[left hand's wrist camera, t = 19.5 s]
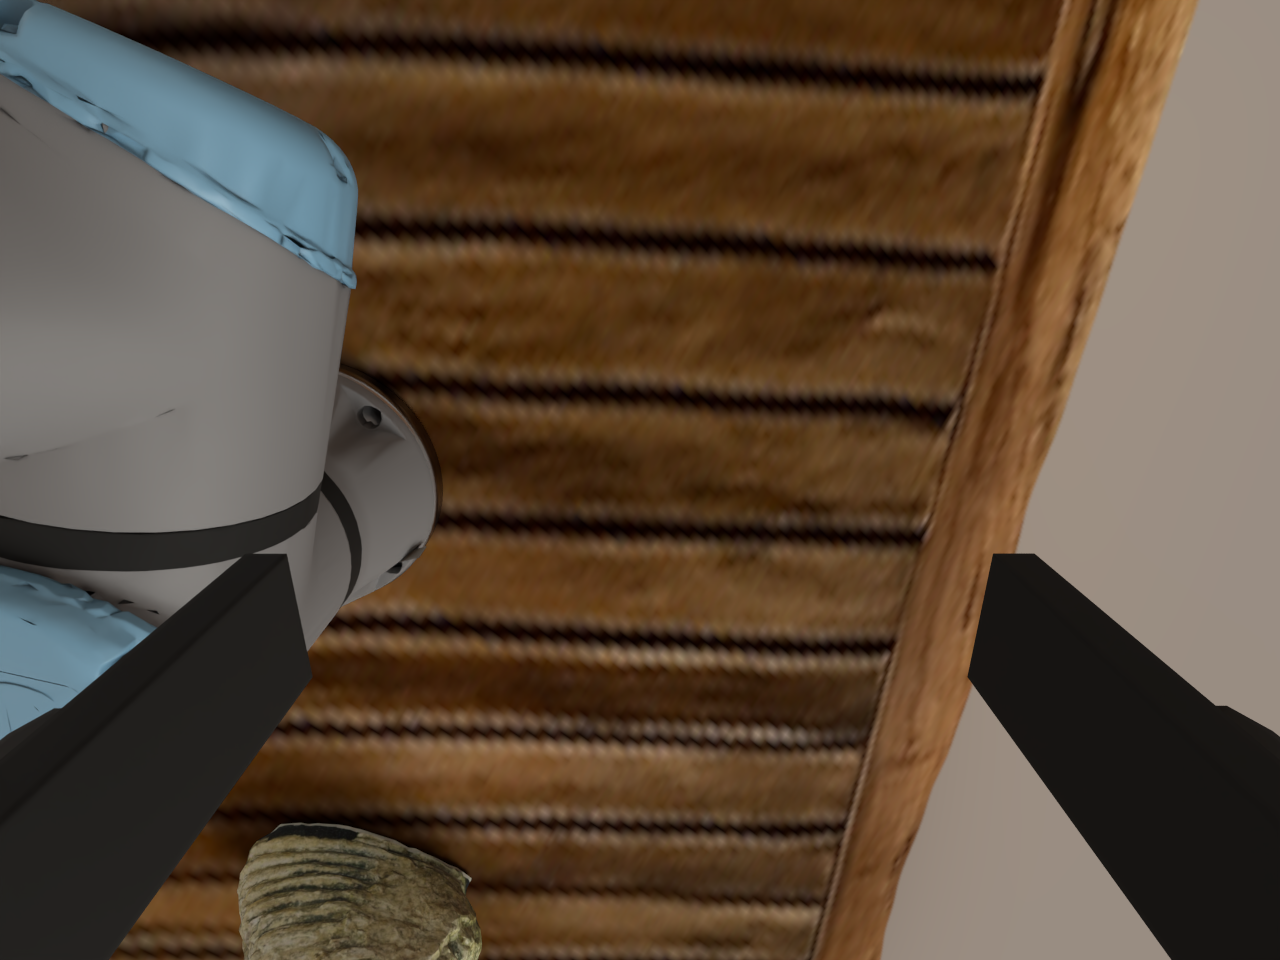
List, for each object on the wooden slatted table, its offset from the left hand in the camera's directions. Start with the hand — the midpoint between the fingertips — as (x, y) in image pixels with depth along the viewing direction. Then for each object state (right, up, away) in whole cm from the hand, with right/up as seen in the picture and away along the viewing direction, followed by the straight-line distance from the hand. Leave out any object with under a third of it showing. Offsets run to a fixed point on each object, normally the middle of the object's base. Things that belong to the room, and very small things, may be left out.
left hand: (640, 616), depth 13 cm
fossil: (-21, -28, +42) cm, 55 cm away
